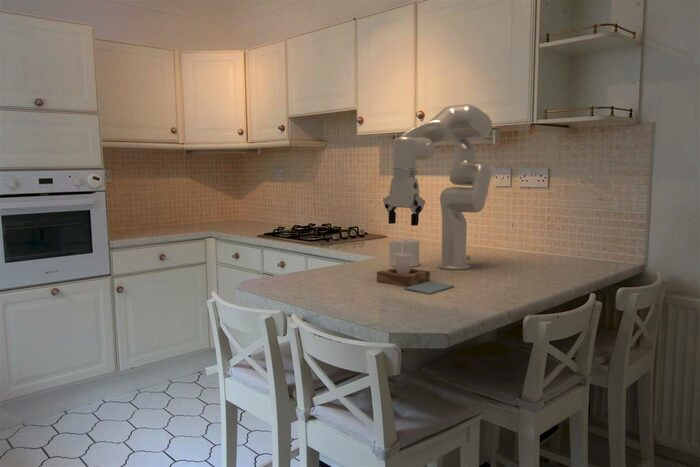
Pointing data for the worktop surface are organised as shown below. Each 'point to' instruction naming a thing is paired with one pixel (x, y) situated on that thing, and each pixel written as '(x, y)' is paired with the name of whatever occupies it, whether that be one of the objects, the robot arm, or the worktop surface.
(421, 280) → the wooden square frame
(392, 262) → the toilet tissue
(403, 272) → the smoothie
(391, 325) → the worktop surface
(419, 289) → the mat
